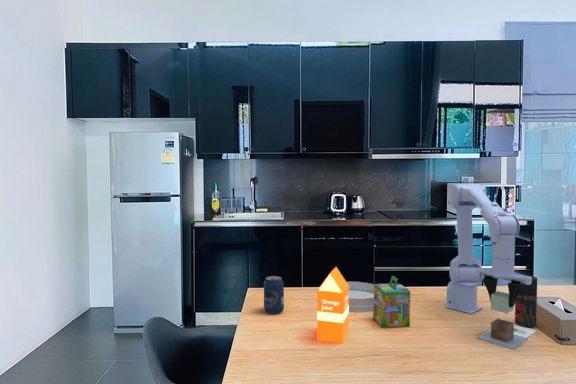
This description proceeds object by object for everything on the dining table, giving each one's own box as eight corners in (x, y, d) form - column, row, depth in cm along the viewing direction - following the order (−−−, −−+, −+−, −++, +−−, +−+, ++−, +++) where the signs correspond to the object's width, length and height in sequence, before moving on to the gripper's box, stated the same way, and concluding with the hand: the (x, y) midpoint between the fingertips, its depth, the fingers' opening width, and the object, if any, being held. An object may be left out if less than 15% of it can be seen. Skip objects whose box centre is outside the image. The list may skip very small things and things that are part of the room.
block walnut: (490, 337, 118) (491, 322, 118) (497, 333, 121) (497, 318, 121) (507, 342, 115) (507, 326, 114) (513, 338, 118) (513, 322, 117)
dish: (393, 299, 155) (393, 286, 155) (372, 317, 137) (372, 302, 136) (340, 290, 167) (340, 278, 167) (314, 306, 148) (314, 292, 148)
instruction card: (499, 332, 123) (499, 331, 123) (511, 324, 129) (511, 323, 129) (525, 339, 118) (525, 338, 118) (536, 330, 123) (536, 330, 123)
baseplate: (477, 338, 119) (477, 337, 118) (491, 329, 125) (491, 328, 125) (514, 349, 111) (514, 348, 111) (527, 339, 117) (527, 338, 117)
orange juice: (349, 332, 124) (349, 267, 123) (343, 343, 115) (343, 274, 114) (324, 329, 126) (323, 265, 125) (316, 340, 118) (316, 272, 117)
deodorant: (539, 328, 125) (540, 280, 125) (518, 327, 126) (519, 279, 126) (531, 321, 131) (532, 275, 130) (511, 320, 132) (512, 274, 131)
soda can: (260, 313, 140) (260, 279, 139) (269, 307, 146) (268, 274, 146) (279, 316, 137) (278, 281, 137) (286, 309, 144) (286, 276, 143)
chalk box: (372, 317, 135) (372, 274, 135) (399, 316, 137) (399, 272, 136) (382, 328, 126) (382, 281, 125) (410, 327, 127) (411, 280, 127)
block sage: (490, 309, 118) (490, 294, 118) (497, 306, 121) (497, 291, 121) (507, 313, 115) (507, 297, 115) (513, 309, 118) (513, 294, 118)
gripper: (471, 255, 120) (471, 301, 121) (525, 264, 109) (524, 313, 110) (482, 252, 125) (481, 296, 125) (534, 260, 114) (533, 308, 114)
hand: (502, 304), depth 118 cm, fingers closed on block sage, 4 cm apart
